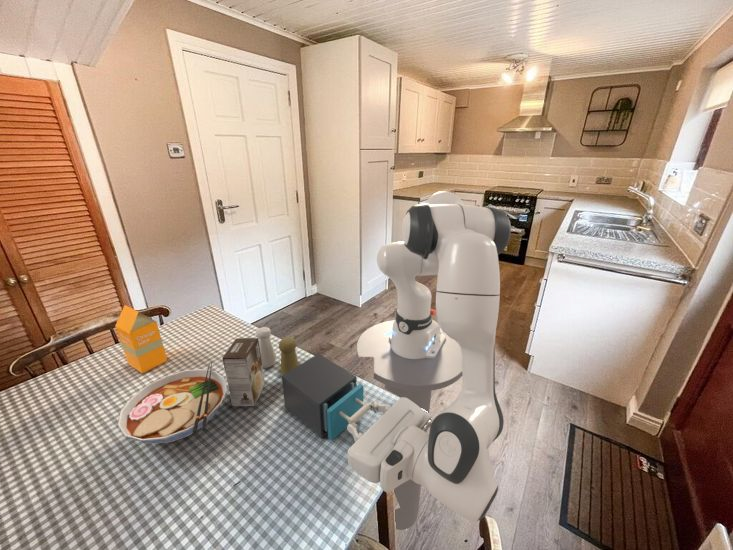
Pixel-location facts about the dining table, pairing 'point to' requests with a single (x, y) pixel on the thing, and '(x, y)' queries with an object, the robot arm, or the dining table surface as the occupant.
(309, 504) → the dining table surface
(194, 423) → the ramen bowl
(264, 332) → the salt shaker
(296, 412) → the grey drawer cabinet
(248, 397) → the coffee box
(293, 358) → the olive pepper shaker
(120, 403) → the dining table surface
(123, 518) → the dining table surface
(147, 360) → the orange juice
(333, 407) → the teal drawer
